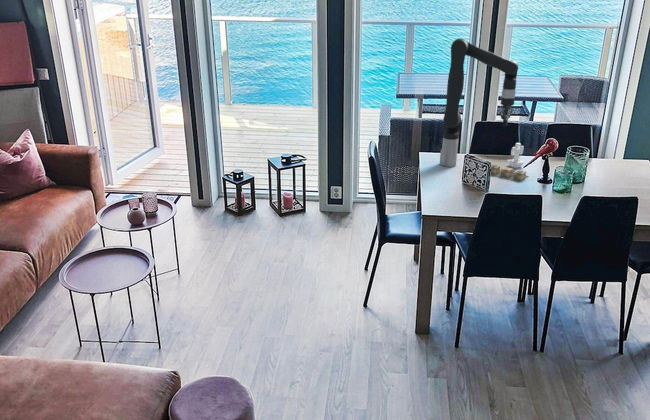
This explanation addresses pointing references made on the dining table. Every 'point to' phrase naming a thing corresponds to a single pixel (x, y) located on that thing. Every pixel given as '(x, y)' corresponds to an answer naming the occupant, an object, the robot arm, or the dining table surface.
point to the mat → (507, 177)
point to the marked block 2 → (519, 174)
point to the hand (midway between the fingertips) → (504, 125)
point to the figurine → (516, 156)
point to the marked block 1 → (495, 168)
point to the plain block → (506, 171)
